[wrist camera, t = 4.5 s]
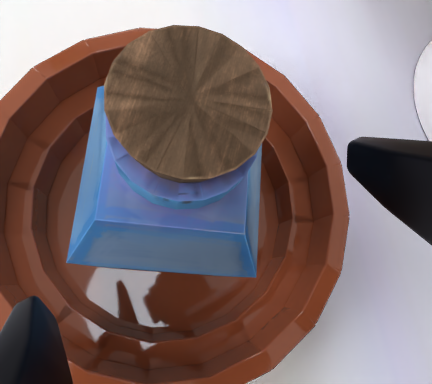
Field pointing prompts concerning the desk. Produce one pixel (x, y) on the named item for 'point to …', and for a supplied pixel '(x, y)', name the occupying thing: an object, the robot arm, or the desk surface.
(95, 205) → the perfume bottle
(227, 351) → the bowl
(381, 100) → the desk surface
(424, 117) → the canister
